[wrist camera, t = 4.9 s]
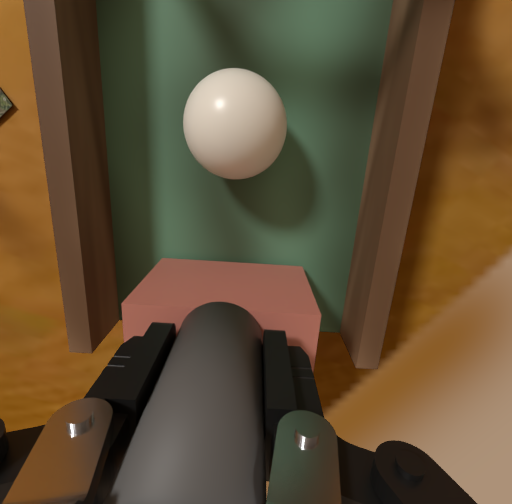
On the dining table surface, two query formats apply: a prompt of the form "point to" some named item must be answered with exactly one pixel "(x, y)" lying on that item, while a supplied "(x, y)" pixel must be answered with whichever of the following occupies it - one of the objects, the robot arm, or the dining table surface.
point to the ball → (235, 123)
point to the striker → (210, 379)
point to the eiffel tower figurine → (4, 103)
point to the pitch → (234, 190)
